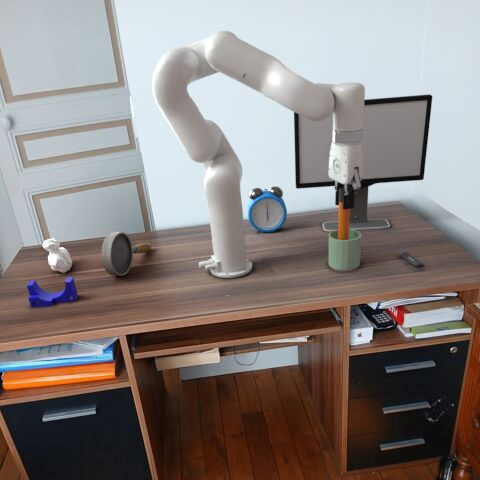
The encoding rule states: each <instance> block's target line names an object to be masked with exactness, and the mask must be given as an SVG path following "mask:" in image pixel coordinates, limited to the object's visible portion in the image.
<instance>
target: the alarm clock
mask: <svg viewBox="0 0 480 480" xmlns="http://www.w3.org/2000/svg"><path fill="white" fill-rule="evenodd" d="M248 196H249V201H248V205H247V216H248V221H249V223H250V225H251V226H252V227H253V228H254V229H255V230H257V231H258V234H260V232H261V233H273V232H276V231H277V232H279V229H280V228H282V226H283V225H284V224H285V222H286V220H287V217H288V210H287V206H286V202H285V200H284V199H283V196H284V191H283V189H282V188H281V187H280V186H276V185H275V186H271V187H270V188H269V190H268V188H264V190H263V189H262V188H260V187H255V188H252V189H251V191H250V192H249V194H248Z"/></svg>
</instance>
